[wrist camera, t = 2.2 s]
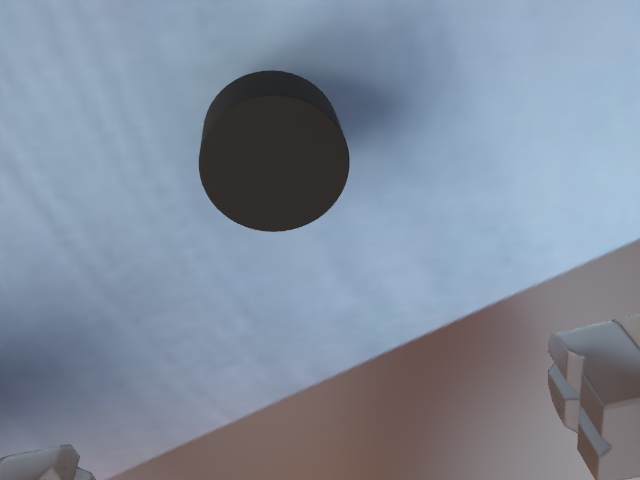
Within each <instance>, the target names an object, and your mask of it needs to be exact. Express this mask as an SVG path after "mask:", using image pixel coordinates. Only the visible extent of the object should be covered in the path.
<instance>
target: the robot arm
mask: <svg viewBox="0 0 640 480" xmlns="http://www.w3.org/2000/svg"><path fill="white" fill-rule="evenodd" d="M548 352H549V353H550V355H551V357H552V358H553V360H554V364H553V365H552V366H551V367H550V369H549V370H548V382H549V383H548V384H549V389H550V393H551V397H552V401H553V403H554V406H555V408H556V411H557V413H558V415H559V417H560V419H561V420H562V422H563V424H564V426H566V427H567V428H569V429H571V430H572V431H574V432H576V433H578V446H577V448H578V451H579V453H580V454H581V456H582V458H583V460H584V461H585V463H586V465H587V466H588V468H589V470H590V472H591V473H592V475H593V477H594V479H595V480H625V479H631V478H636V477H640V314H636V315H632V316H627V317H623V318H619V319H614V320H612V321H605V322H601V323H596V324H593V325H588V326H584V327H579V328H575V329H571V330H567V331H563V332H559V333H554V334H551V336H550V338H549V345H548ZM79 458H80V456H79V455H78V453H77V452H76V451H75V450H74V448H73V447H72V446H71V445H60V446H55V447H50V448H45V449H40V450H35V451H29V452H24V453H19V454H14V455H9V456H6V457H2V458H0V480H96V479H95V478H94V476H93V475H92V473H91V472H88V471H86V470H84V469H81V468H79V467H77V466H78V462H79Z"/></svg>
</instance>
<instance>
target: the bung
mask: <svg viewBox="0 0 640 480" xmlns="http://www.w3.org/2000/svg"><path fill="white" fill-rule="evenodd" d="M199 172H200V178H201V181H202V185H203V187H204V189H205V192H206V194H207V195H208V197H209V199H210V200H211V202H212V203H213V204H214V205H215V206H216V208H217V209H218V210H220V211H221V212H222V213H223V214H224V215H225V216H227V217H228V218H229V219H231V220H233V221H234V222H236V223H238V224H240V225H243V226H245V227H248V228H251V229H255V230H260V231H271V232H276V231H286V230H292V229H295V228H299V227H302V226H304V225H307V224H309V223H311V222H313V221H314V220H316V219H318V218H319V217H320V216H322V215H323V214H324V213H326V212H327V211H328V210H329V209H330V208H331V207H332V206H333V204H334V203H335V202H336V201H337V199H338V198H339V196H340V194H341V193H342V191H343V189H344V186H345V184H346V181H347V177H348V172H349V151H348V147H347V143H346V140H345V137H344V135H343V132H342V129H341V127H340V124H339V122H338V119H337V116H336V114H335V111H334V109H333V107H332V105H331V103H330V102H329V100H328V99H327V97H326V96H325V95H324V94H323V92H322V91H320V90H319V89H318V88H317V87H316V86H315V85H313V84H312V83H311V82H309V81H308V80H306V79H304V78H302V77H300V76H297V75H294V74H292V73H287V72H283V71H260V72H255V73H251V74H248V75H245V76H243V77H241V78H239V79H236V80H235V81H233V82H232V83H230V84H229V85H228V86H226V87H225V88H224V89H223V90H222V91H221V92H220V93H219V94H218V95H217V96H216V98H215V99H214V101H213V102H212V104H211V105H210V107H209V110H208V112H207V114H206V118H205V121H204V127H203V134H202V141H201V148H200V154H199Z"/></svg>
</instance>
